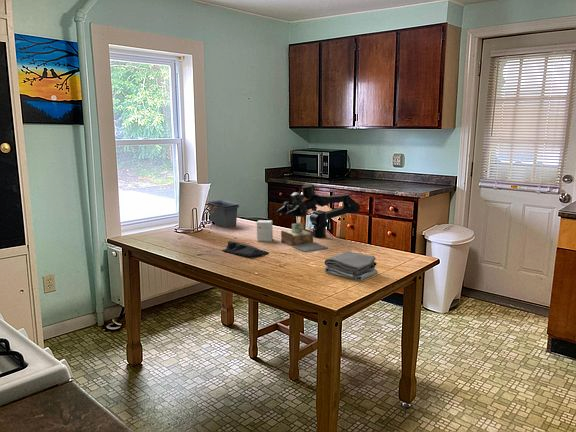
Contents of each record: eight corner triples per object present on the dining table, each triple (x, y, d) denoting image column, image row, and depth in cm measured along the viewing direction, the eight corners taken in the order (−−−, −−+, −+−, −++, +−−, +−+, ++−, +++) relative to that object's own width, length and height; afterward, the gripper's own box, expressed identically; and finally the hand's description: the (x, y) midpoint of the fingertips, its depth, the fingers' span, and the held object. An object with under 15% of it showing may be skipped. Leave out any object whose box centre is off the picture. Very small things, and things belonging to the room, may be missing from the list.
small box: (272, 238, 255) (272, 220, 253) (271, 241, 249) (271, 222, 247) (258, 238, 255) (258, 220, 253) (256, 241, 250) (256, 222, 248)
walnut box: (301, 238, 254) (302, 227, 253) (313, 243, 245) (313, 231, 244) (281, 241, 248) (281, 230, 247) (291, 246, 239) (291, 234, 237)
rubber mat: (314, 243, 245) (314, 242, 244) (327, 248, 234) (327, 247, 234) (292, 246, 238) (292, 245, 237) (304, 252, 227) (304, 251, 227)
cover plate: (300, 230, 253) (301, 221, 252) (311, 234, 244) (311, 224, 243) (283, 232, 247) (283, 223, 246) (292, 236, 239) (293, 226, 238)
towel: (343, 265, 207) (343, 248, 205) (379, 274, 195) (380, 256, 194) (323, 273, 196) (323, 255, 194) (360, 283, 184) (360, 264, 182)
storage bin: (242, 225, 288) (242, 203, 285) (222, 229, 278) (221, 206, 275) (222, 221, 303) (221, 199, 300) (202, 224, 293) (201, 202, 290)
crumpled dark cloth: (247, 260, 215) (246, 250, 214) (219, 251, 231) (219, 242, 230) (271, 254, 225) (271, 245, 224) (244, 246, 241) (244, 237, 240)
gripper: (293, 189, 257) (269, 197, 249) (312, 192, 241) (288, 200, 234) (296, 208, 260) (273, 216, 252) (316, 212, 244) (291, 221, 236)
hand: (281, 213), depth 243 cm, fingers open, 9 cm apart
